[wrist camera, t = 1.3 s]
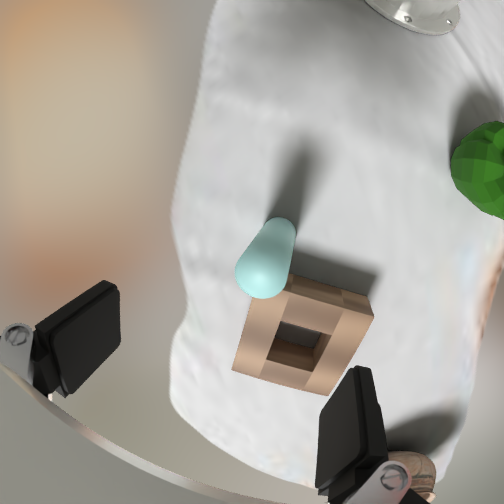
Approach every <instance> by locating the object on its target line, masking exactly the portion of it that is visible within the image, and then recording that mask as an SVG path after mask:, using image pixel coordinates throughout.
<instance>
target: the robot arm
mask: <svg viewBox="0 0 504 504" xmlns="http://www.w3.org/2000/svg"><path fill="white" fill-rule="evenodd" d="M365 1H366V2H367V3H368V4H369V5H370V6H371V7H372V8H373V9H375V10H376V11H377V12H379V13H380V14H381V15H383V16H384V17H386V18H387V19H389V20H391V21H393V22H394V23H396V24H398V25H400V26H403V27H405V28H407V29H409V30H412V31H415V32H418V33H423V34H427V35H442V34H446V33H448V32H450V31H452V30H453V29H454V28H455V27H456V26H457V24H458V23H459V19H460V10H459V6H458V2H459V1H460V0H365ZM35 328H36V330H35V331H32V329H31V328H30V327H29V326H28V325H26V324H22V323H15V324H12V325H10V326H8V327H7V328H6V329H5V330H4V331H3V333H2V335H1V336H0V504H285V503H278V502H273V501H268V500H262V499H257V498H253V497H248V496H244V495H240V494H237V493H232V492H229V491H226V490H222V489H219V488H215V487H212V486H209V485H206V484H203V483H200V482H197V481H194V480H191V479H189V478H186V477H183V476H181V475H178V474H176V473H173V472H171V471H168V470H166V469H163V468H161V467H159V466H157V465H155V464H152V463H150V462H148V461H146V460H144V459H142V458H140V457H138V456H136V455H134V454H132V453H130V452H128V451H126V450H125V449H123V448H121V447H119V446H117V445H115V444H113V443H112V442H110V441H109V440H107V439H105V438H104V437H102V436H100V435H99V434H97V433H95V432H94V431H92V430H91V429H89V428H87V427H86V426H85V425H83V424H82V423H80V422H79V421H77V420H76V419H74V418H73V417H72V416H70V415H69V414H67V413H66V412H65V411H63V410H62V409H61V408H59V407H58V406H57V405H55V404H54V403H53V402H52V393H53V392H54V391H55V390H56V391H57V392H58V393H59V394H60V395H62V396H63V397H64V398H66V397H67V396H68V395H69V394H73V393H74V392H75V391H76V390H77V389H78V388H79V387H80V386H81V385H82V384H83V383H84V382H85V380H87V379H88V378H89V377H90V375H91V374H92V373H93V372H94V371H95V370H96V369H97V368H98V367H99V366H100V365H101V364H102V363H103V362H104V361H105V360H106V359H107V358H108V357H109V356H110V355H111V354H112V353H113V352H114V351H115V350H116V349H117V348H118V346H119V345H120V342H121V334H120V293H119V290H117V286H116V285H115V284H113V283H110V282H108V281H106V280H103V281H101V282H99V283H98V284H96V285H95V286H93V287H92V288H90V289H88V290H87V291H85V292H84V293H83V294H81V295H79V296H78V297H76V298H75V299H73V300H72V301H70V302H69V303H67V304H66V305H64V306H63V307H61V308H60V309H58V310H57V311H56V312H54V313H53V314H51V315H50V316H48V317H47V318H45V319H44V320H42V321H41V322H40V323H38V324H37V325H35ZM411 481H412V477H411V473H410V471H409V469H408V468H407V467H406V466H405V465H404V464H402V463H401V462H398V461H389V458H388V450H387V443H386V436H385V430H384V424H383V418H382V412H381V407H380V405H379V404H378V401H377V396H376V391H375V386H374V381H373V376H372V372H371V369H370V368H367V367H362V366H358V365H357V366H355V367H354V368H350V369H349V370H348V371H347V373H346V375H345V376H344V378H343V379H342V381H341V382H340V384H339V386H338V387H337V389H336V390H335V392H334V393H333V395H332V396H331V398H330V399H329V401H328V402H327V403H326V405H325V406H324V408H323V409H322V411H321V413H320V417H319V436H318V453H317V467H316V479H315V487H316V488H319V490H318V495H324V496H328V502H329V503H328V504H430V503H429V502H427V501H426V500H425V499H424V498H422V497H421V496H420V495H419V494H417V493H416V492H415V491H414V490H412V489H411V488H410V485H411Z"/></svg>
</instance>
